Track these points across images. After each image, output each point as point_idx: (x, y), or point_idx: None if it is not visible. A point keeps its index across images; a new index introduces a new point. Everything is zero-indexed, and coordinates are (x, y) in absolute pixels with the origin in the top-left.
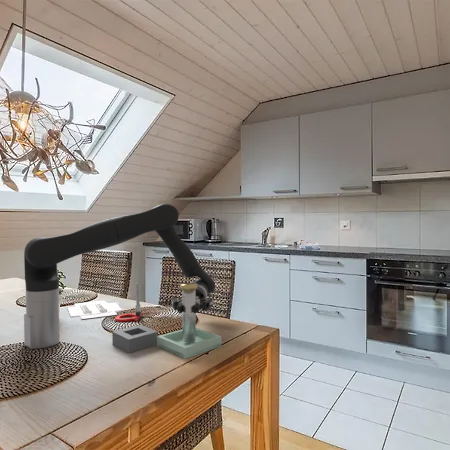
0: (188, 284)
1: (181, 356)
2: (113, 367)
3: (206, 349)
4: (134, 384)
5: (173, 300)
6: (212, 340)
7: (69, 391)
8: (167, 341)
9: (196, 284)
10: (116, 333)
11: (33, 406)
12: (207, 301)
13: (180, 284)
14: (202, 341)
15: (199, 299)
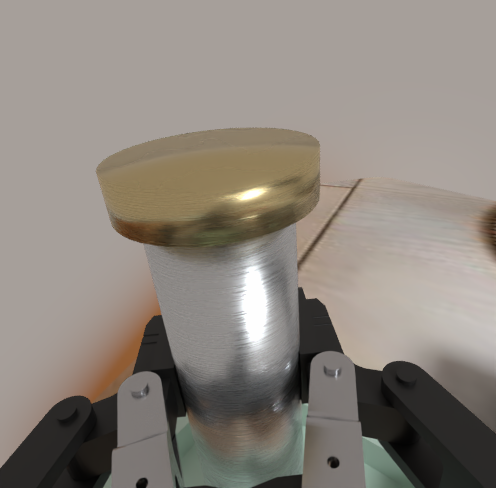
0: (213, 148)
1: None
2: (443, 298)
3: None
4: (322, 257)
5: (485, 429)
6: (109, 479)
7: (428, 227)
8: None
9: (112, 159)
10: None
11: (435, 202)
12: (18, 450)
13: (310, 136)
14: None
15: (113, 454)
